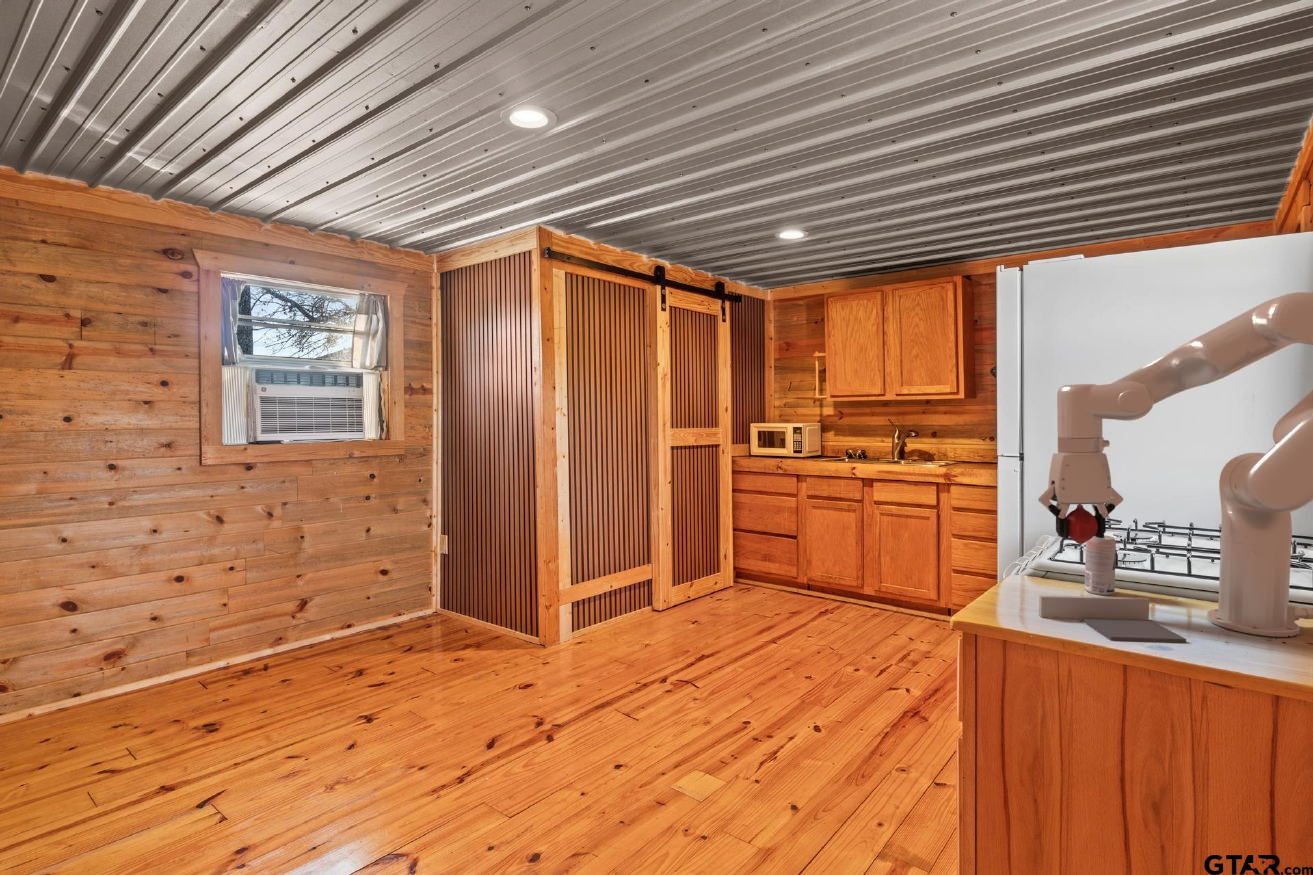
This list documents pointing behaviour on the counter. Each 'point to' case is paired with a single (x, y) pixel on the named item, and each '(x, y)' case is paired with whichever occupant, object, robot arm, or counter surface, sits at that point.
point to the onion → (1081, 525)
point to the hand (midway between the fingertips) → (1080, 536)
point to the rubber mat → (1132, 630)
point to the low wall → (1094, 607)
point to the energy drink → (1100, 565)
